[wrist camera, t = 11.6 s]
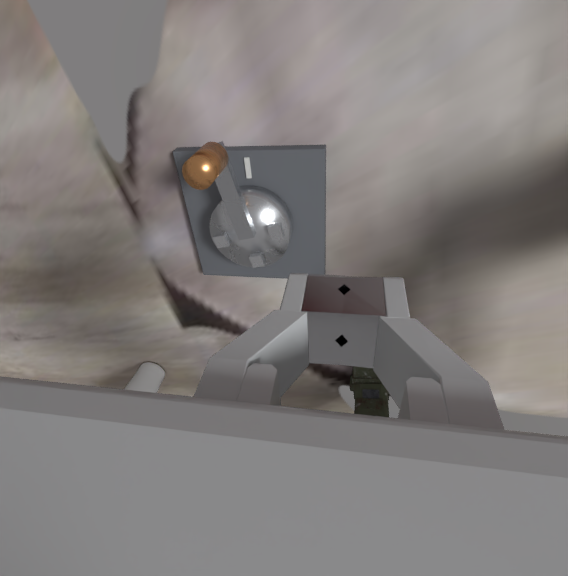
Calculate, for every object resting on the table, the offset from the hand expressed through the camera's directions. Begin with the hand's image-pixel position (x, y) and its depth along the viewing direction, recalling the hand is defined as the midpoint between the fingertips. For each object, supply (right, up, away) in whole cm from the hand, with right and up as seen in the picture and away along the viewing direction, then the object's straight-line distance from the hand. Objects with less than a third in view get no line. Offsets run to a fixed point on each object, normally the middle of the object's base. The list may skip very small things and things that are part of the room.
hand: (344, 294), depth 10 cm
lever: (-6, +11, +34) cm, 37 cm away
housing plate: (-5, +10, +38) cm, 39 cm away
